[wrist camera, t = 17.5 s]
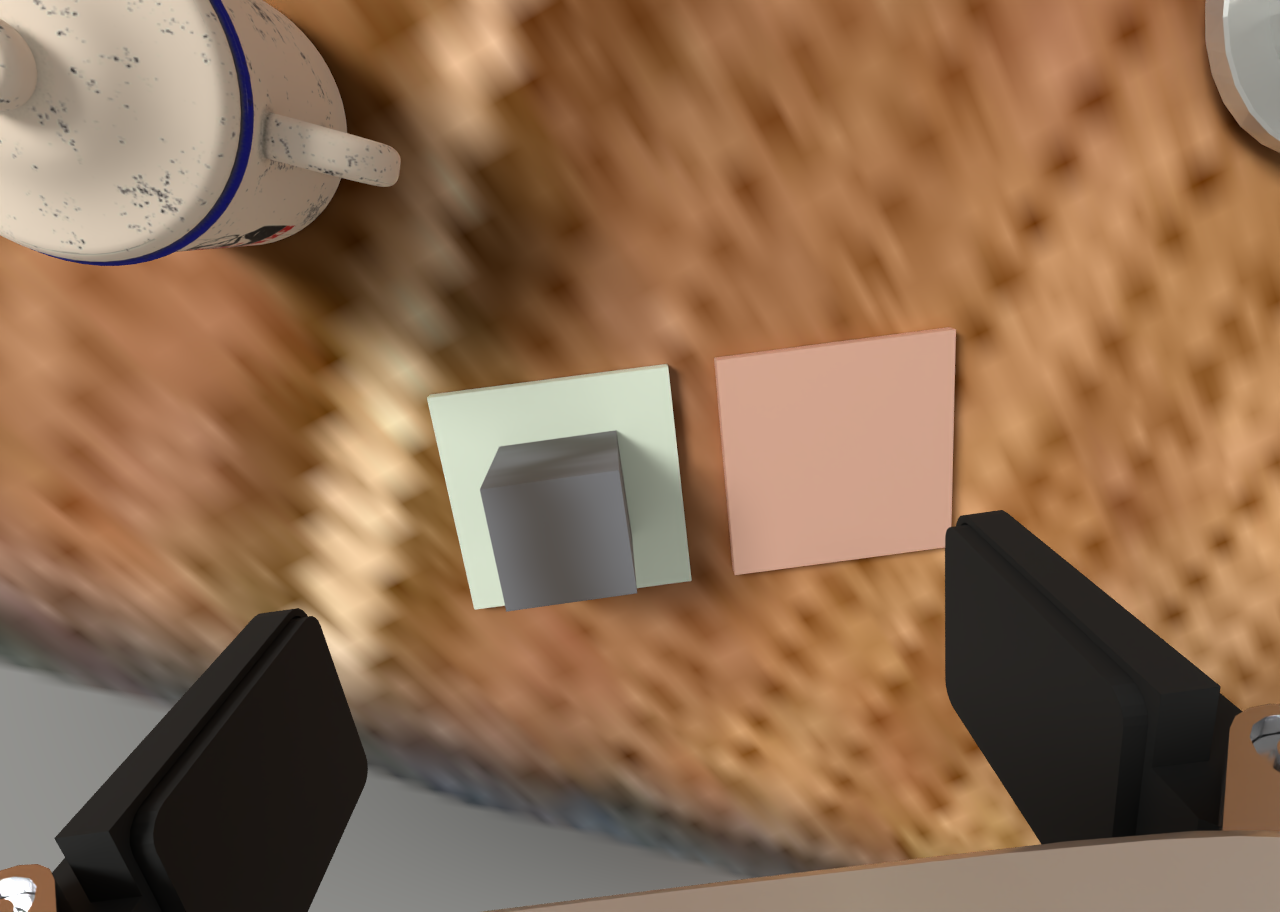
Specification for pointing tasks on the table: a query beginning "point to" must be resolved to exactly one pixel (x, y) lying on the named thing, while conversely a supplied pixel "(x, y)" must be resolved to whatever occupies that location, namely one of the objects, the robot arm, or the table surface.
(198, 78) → the teacup with lid
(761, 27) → the table surface
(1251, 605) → the table surface
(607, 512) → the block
